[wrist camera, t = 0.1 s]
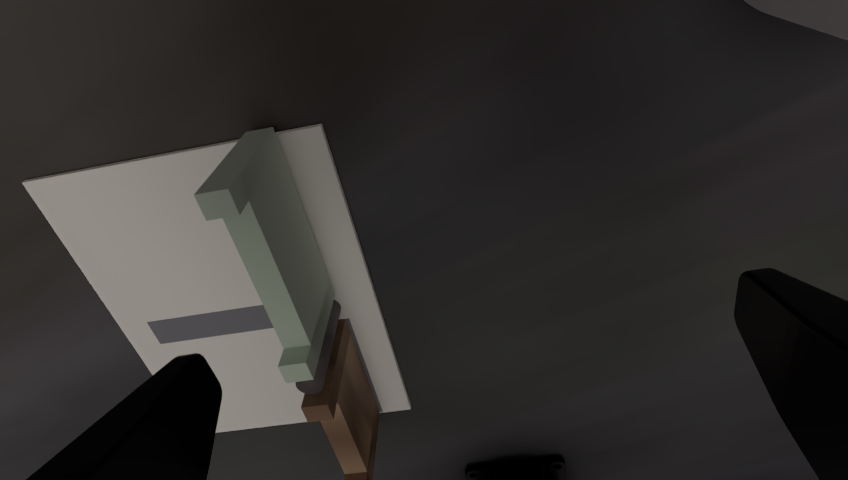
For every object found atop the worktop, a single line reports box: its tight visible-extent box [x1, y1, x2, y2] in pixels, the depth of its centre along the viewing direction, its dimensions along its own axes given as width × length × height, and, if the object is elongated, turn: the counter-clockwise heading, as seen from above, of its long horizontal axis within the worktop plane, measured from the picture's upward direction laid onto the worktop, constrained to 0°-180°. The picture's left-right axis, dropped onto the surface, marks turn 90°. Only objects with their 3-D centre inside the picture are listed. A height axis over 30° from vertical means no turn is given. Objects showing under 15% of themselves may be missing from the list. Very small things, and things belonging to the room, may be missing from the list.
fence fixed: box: [296, 300, 380, 480], centre depth 27 cm, size 9×1×6 cm, turn 11°
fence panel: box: [194, 127, 335, 383], centre depth 22 cm, size 9×1×6 cm, turn 11°
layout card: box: [22, 123, 411, 433], centre depth 27 cm, size 18×14×1 cm
